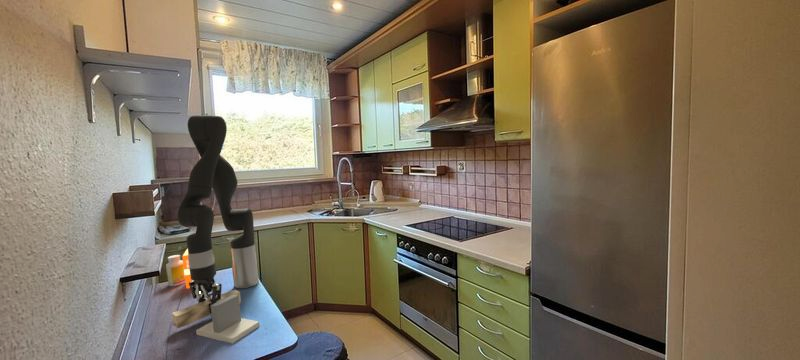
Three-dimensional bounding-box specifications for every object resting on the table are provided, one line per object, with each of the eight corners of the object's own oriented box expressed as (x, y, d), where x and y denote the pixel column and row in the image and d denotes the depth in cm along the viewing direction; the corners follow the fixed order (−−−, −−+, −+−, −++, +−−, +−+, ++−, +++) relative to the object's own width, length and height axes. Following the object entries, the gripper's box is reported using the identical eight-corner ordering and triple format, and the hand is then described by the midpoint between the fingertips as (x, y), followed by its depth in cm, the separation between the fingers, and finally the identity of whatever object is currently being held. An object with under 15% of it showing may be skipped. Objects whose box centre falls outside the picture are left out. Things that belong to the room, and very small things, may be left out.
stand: (196, 334, 102) (192, 304, 102) (225, 318, 111) (221, 290, 111) (232, 343, 96) (228, 311, 95) (259, 326, 105) (256, 296, 104)
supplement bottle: (189, 281, 151) (186, 254, 150) (177, 286, 145) (173, 258, 143) (178, 280, 152) (174, 253, 151) (164, 286, 146) (161, 258, 145)
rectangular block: (177, 328, 103) (176, 316, 103) (173, 324, 106) (171, 313, 105) (241, 302, 118) (239, 291, 118) (235, 299, 121) (234, 289, 121)
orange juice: (186, 288, 142) (180, 243, 140) (190, 281, 150) (185, 239, 148) (206, 284, 144) (201, 240, 143) (209, 278, 153) (204, 236, 151)
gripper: (226, 261, 111) (232, 309, 112) (199, 258, 116) (205, 303, 118) (205, 269, 104) (212, 320, 105) (177, 265, 110) (184, 313, 111)
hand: (208, 311), depth 112 cm, fingers closed on rectangular block, 4 cm apart
